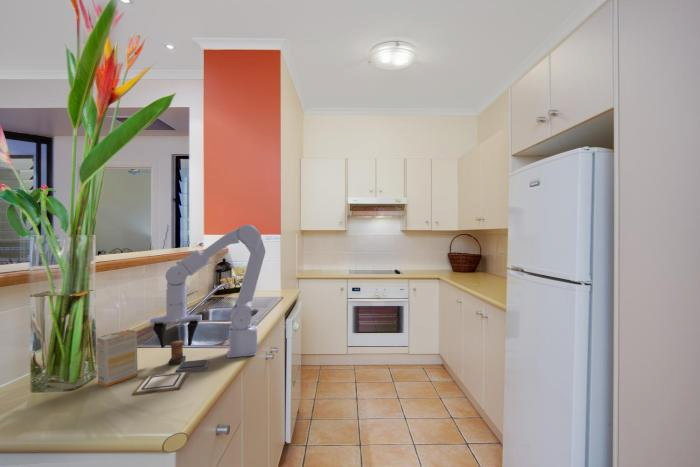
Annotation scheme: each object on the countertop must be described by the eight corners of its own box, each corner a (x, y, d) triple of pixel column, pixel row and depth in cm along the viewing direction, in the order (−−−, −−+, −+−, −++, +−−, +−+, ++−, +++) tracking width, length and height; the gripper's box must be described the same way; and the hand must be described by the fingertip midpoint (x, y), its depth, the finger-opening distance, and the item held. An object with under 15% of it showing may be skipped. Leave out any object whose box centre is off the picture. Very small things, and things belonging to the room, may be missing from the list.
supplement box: (129, 372, 95) (129, 328, 95) (138, 375, 93) (137, 330, 93) (96, 383, 88) (96, 336, 88) (105, 387, 86) (104, 339, 86)
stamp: (185, 359, 105) (185, 339, 105) (182, 364, 101) (182, 343, 101) (172, 360, 104) (171, 340, 104) (168, 365, 100) (168, 345, 100)
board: (188, 373, 94) (188, 370, 94) (179, 389, 85) (179, 386, 85) (146, 377, 92) (146, 375, 92) (132, 395, 82) (132, 392, 82)
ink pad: (209, 362, 102) (209, 358, 102) (205, 370, 96) (205, 365, 96) (181, 365, 100) (181, 361, 100) (176, 373, 94) (176, 368, 94)
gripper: (146, 307, 97) (146, 352, 97) (198, 304, 101) (198, 347, 101) (154, 302, 104) (154, 344, 104) (203, 300, 107) (203, 340, 107)
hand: (176, 345), depth 103 cm, fingers open, 7 cm apart
